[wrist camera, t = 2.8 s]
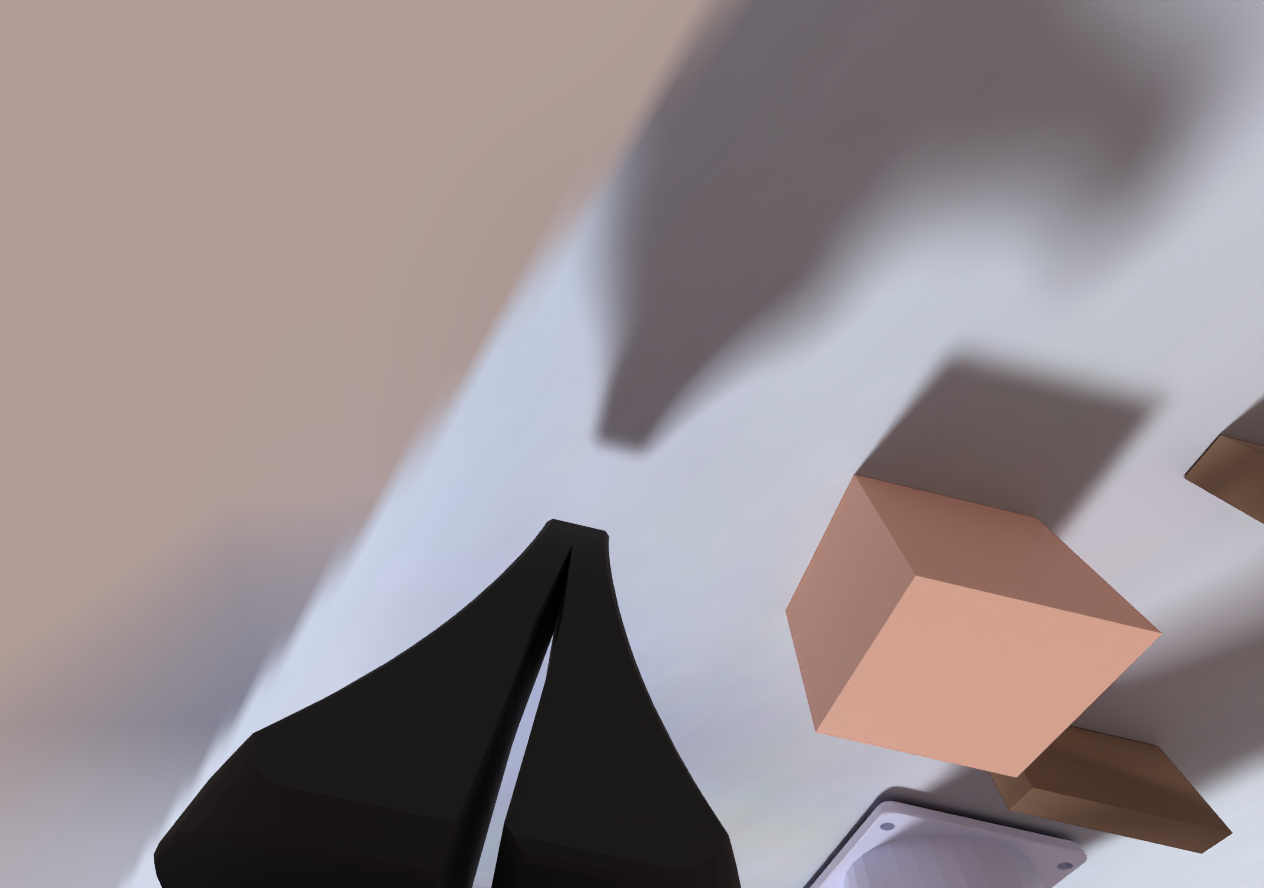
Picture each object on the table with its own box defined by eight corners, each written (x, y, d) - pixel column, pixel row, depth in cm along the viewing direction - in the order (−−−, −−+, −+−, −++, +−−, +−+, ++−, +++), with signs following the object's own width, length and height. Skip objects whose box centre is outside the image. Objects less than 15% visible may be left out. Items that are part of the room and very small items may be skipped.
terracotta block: (940, 643, 16) (1016, 777, 12) (784, 607, 16) (815, 732, 12) (1033, 515, 13) (1162, 633, 10) (852, 471, 13) (915, 575, 10)
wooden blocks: (1134, 767, 17) (1201, 853, 15) (966, 729, 17) (1008, 810, 15) (1458, 494, 12) (1636, 563, 10) (1220, 435, 12) (1346, 492, 10)
